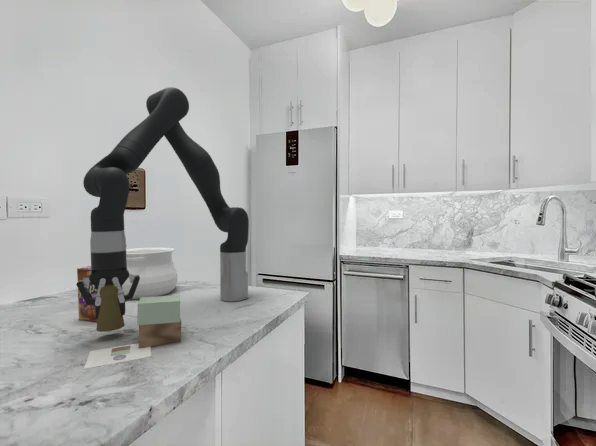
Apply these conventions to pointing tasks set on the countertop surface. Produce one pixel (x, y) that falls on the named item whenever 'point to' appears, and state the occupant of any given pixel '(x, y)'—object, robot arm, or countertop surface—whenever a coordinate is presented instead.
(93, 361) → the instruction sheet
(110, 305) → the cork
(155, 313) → the sage brick
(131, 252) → the pot
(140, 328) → the base brick
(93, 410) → the countertop surface
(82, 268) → the candy box
